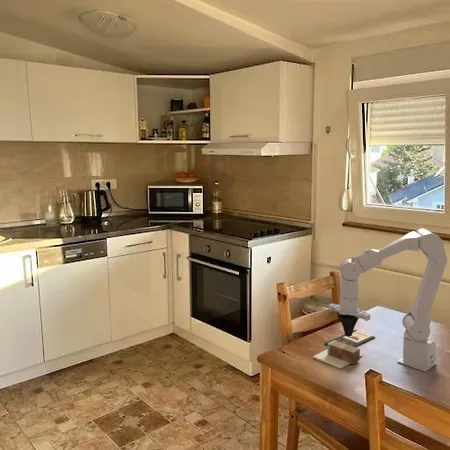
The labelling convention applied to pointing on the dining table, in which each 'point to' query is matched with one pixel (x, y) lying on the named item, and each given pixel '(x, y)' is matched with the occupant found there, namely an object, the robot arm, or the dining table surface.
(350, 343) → the chocolate bar
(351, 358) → the walnut block
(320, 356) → the thin cream panel
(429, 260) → the robot arm
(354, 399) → the dining table surface
